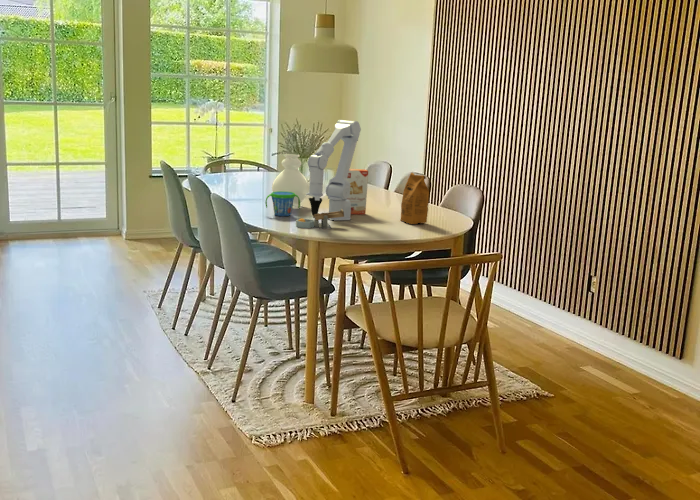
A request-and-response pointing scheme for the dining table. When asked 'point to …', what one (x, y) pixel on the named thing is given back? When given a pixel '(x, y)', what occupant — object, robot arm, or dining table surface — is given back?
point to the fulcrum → (322, 223)
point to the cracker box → (358, 190)
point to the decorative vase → (291, 179)
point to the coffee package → (415, 200)
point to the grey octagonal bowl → (305, 223)
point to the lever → (329, 215)
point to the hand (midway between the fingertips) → (314, 214)
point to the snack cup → (282, 202)
